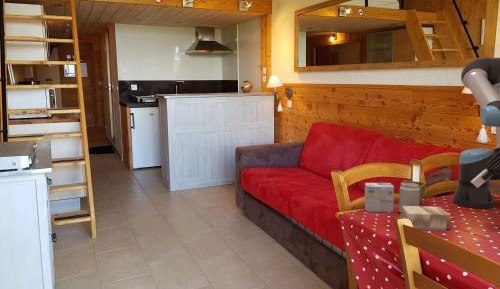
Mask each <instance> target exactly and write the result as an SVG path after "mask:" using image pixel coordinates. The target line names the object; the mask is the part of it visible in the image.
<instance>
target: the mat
mask: <svg viewBox="0 0 500 289" xmlns="http://www.w3.org/2000/svg"><path fill="white" fill-rule="evenodd" d="M418 229H421V230H420V231H434V232H437V231H438V232H447V230H448V229H439V228H418Z"/></svg>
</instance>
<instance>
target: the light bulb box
mask: <svg viewBox="0 0 500 289" xmlns="http://www.w3.org/2000/svg"><path fill="white" fill-rule="evenodd" d="M394 193H395V186H394V185H393V184H392V183H391V182H364V209H365V210H366V212H367V213H368V212H370V213H393V212H394V204H395V203H394V196H395V194H394Z"/></svg>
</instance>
